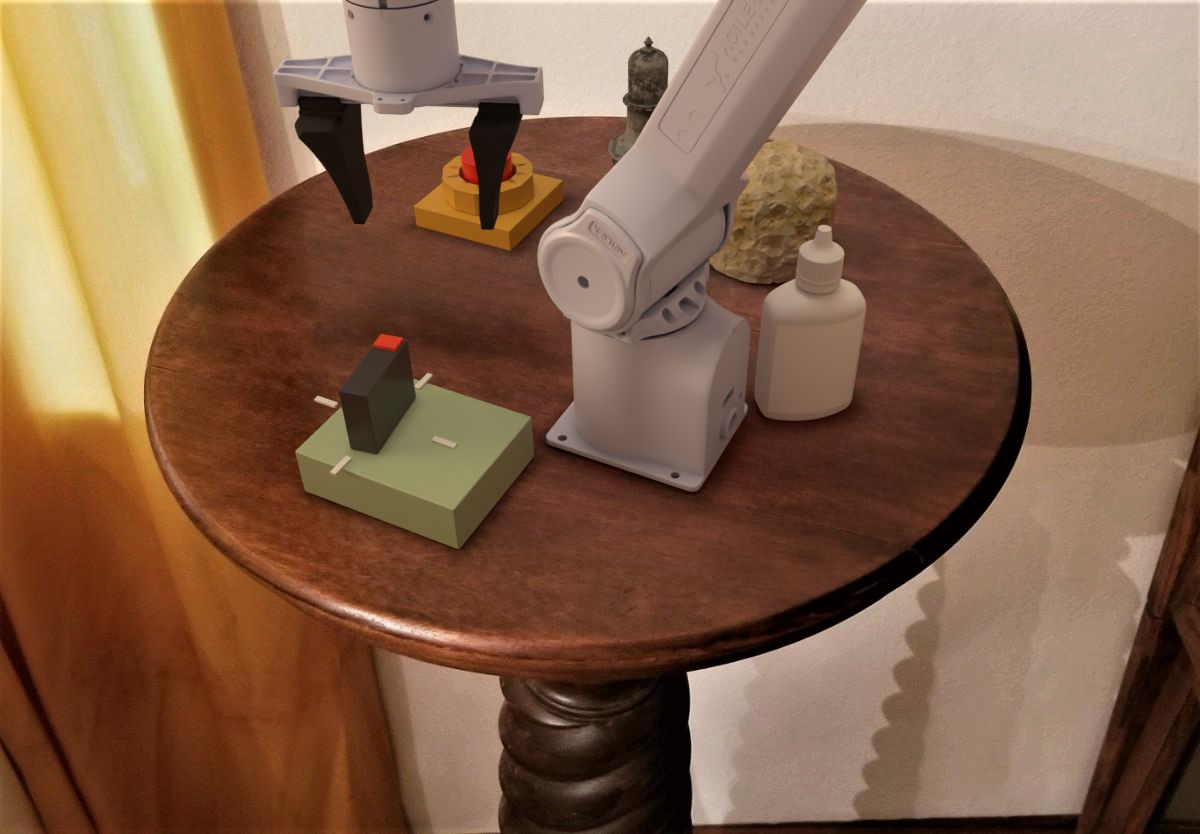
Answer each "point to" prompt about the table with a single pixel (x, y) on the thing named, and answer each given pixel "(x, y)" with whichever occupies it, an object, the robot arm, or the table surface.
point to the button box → (518, 205)
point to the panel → (423, 464)
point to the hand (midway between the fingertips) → (426, 218)
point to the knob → (378, 393)
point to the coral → (778, 213)
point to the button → (470, 167)
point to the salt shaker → (641, 95)
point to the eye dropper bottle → (810, 337)
